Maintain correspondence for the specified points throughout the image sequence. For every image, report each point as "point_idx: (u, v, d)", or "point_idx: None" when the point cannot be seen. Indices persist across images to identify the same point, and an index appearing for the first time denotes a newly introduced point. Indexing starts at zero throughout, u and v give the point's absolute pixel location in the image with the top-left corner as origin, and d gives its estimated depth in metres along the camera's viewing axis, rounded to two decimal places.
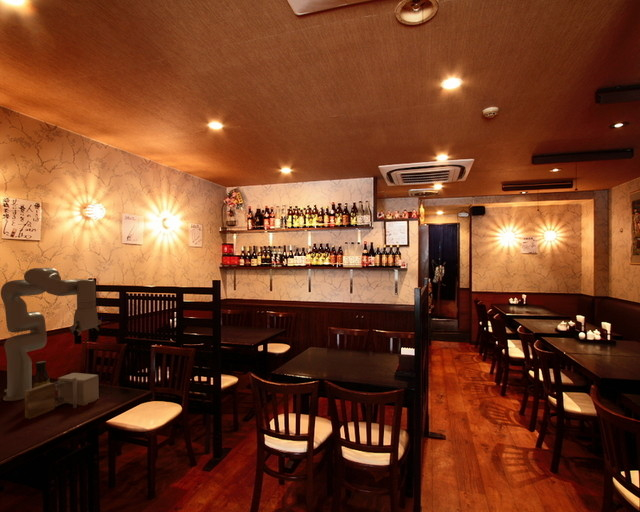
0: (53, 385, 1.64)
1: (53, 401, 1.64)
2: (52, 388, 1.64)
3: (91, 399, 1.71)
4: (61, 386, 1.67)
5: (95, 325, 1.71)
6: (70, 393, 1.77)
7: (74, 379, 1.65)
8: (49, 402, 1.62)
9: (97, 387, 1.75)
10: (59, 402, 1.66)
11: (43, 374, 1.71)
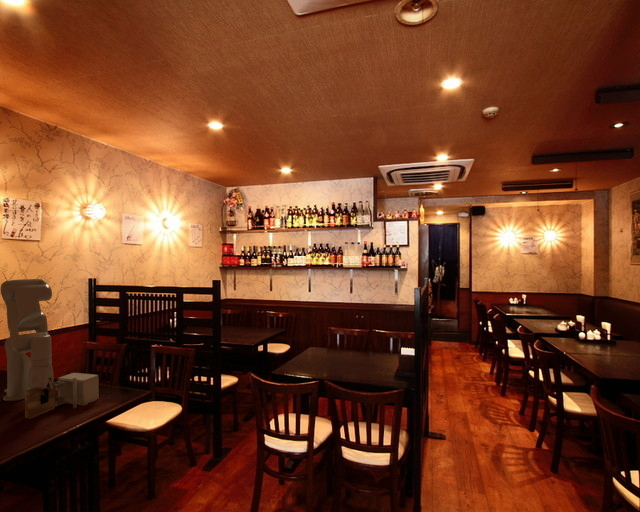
0: (53, 385, 1.64)
1: (53, 401, 1.64)
2: None
3: (91, 399, 1.71)
4: (61, 386, 1.67)
5: None
6: (70, 393, 1.77)
7: (74, 379, 1.65)
8: (49, 402, 1.62)
9: (97, 387, 1.75)
10: (59, 402, 1.66)
11: None
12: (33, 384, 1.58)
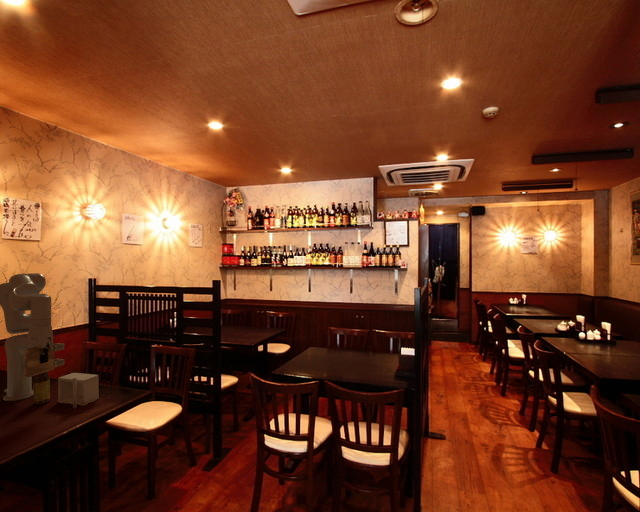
0: (53, 346, 1.64)
1: (53, 362, 1.64)
2: (52, 349, 1.64)
3: (91, 399, 1.71)
4: (61, 347, 1.67)
5: None
6: (70, 393, 1.77)
7: (74, 379, 1.65)
8: (49, 362, 1.63)
9: (97, 387, 1.75)
10: (58, 363, 1.66)
11: (43, 374, 1.71)
12: (33, 343, 1.58)
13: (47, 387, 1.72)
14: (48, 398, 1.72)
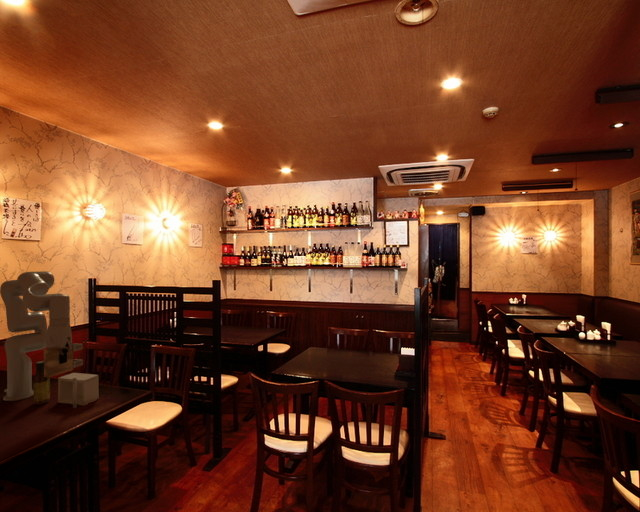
0: None
1: (71, 362, 1.62)
2: (70, 349, 1.62)
3: (91, 399, 1.71)
4: (79, 347, 1.65)
5: None
6: (70, 393, 1.77)
7: (74, 379, 1.65)
8: (67, 362, 1.60)
9: (97, 387, 1.75)
10: (77, 363, 1.64)
11: (43, 374, 1.71)
12: (52, 343, 1.56)
13: (47, 387, 1.72)
14: (48, 398, 1.72)
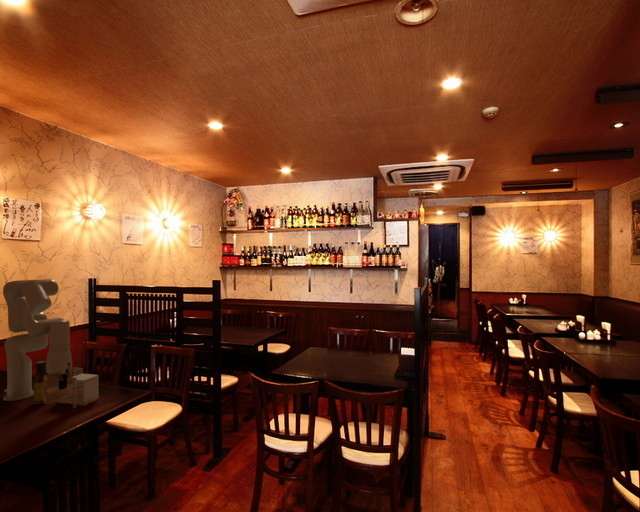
0: None
1: (71, 387, 1.62)
2: None
3: (91, 399, 1.71)
4: (79, 372, 1.65)
5: None
6: None
7: (74, 379, 1.65)
8: (67, 387, 1.60)
9: (97, 387, 1.75)
10: (77, 388, 1.64)
11: (43, 374, 1.71)
12: (52, 369, 1.56)
13: None
14: None
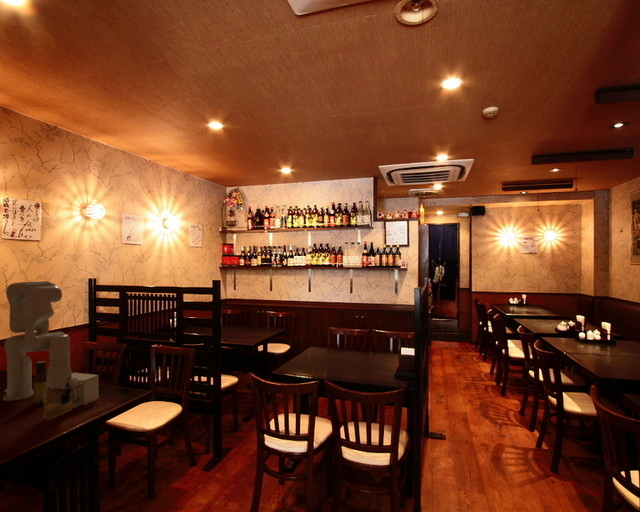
0: None
1: (71, 402, 1.62)
2: None
3: (91, 399, 1.71)
4: (79, 387, 1.65)
5: None
6: None
7: (74, 379, 1.65)
8: (67, 403, 1.60)
9: (97, 387, 1.75)
10: (77, 403, 1.64)
11: (43, 374, 1.71)
12: (52, 384, 1.56)
13: None
14: None
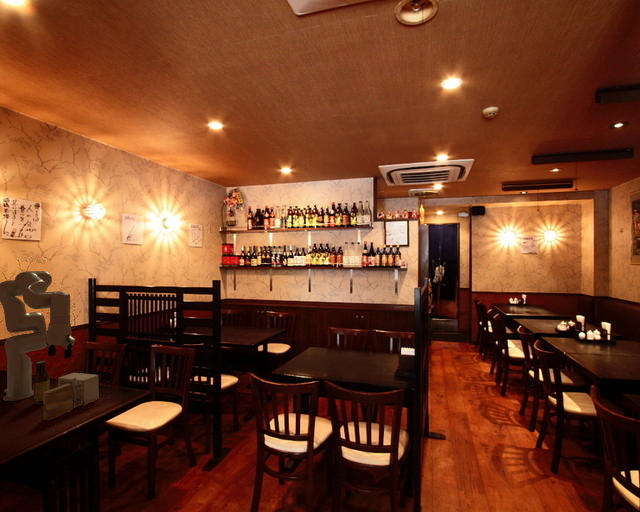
0: (71, 386, 1.62)
1: (71, 402, 1.62)
2: (70, 389, 1.62)
3: (91, 399, 1.71)
4: (79, 387, 1.65)
5: None
6: None
7: (74, 379, 1.65)
8: (67, 403, 1.60)
9: (97, 387, 1.75)
10: (76, 403, 1.64)
11: (43, 374, 1.71)
12: (52, 340, 1.59)
13: (47, 387, 1.72)
14: None
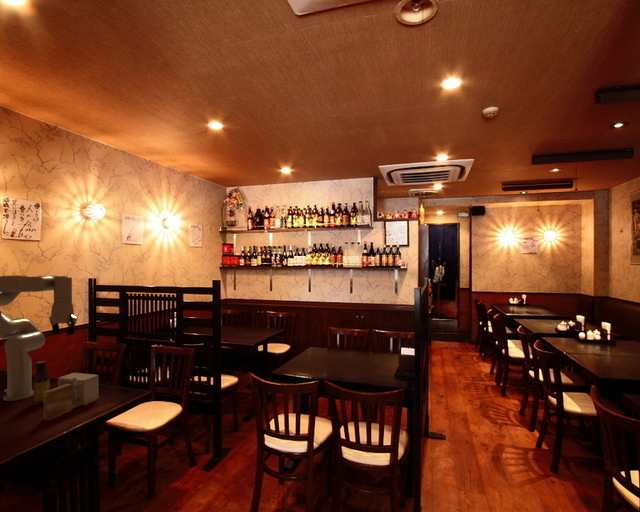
0: (71, 386, 1.62)
1: (71, 402, 1.62)
2: (70, 389, 1.62)
3: (91, 399, 1.71)
4: (79, 387, 1.65)
5: None
6: None
7: (74, 379, 1.65)
8: (67, 403, 1.60)
9: (97, 387, 1.75)
10: (76, 403, 1.64)
11: (43, 374, 1.71)
12: (56, 318, 1.75)
13: (47, 387, 1.72)
14: None
